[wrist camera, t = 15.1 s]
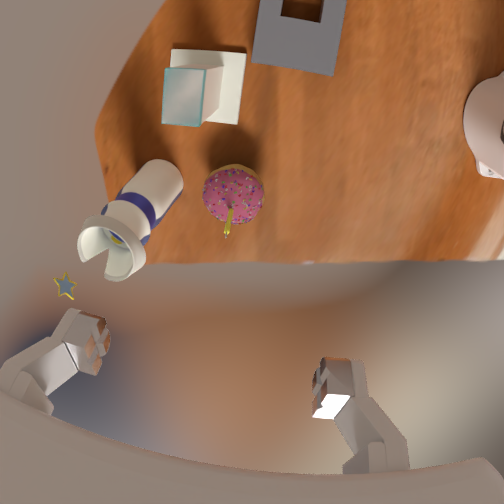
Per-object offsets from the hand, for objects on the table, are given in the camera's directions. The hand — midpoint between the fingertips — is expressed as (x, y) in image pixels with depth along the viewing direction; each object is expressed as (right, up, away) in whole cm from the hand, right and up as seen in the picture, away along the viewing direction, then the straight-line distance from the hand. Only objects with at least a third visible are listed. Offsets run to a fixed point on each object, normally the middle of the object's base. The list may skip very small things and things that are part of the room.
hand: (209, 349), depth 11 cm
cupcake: (-1, +14, +36) cm, 39 cm away
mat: (-5, +26, +28) cm, 38 cm away
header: (+8, +35, +20) cm, 41 cm away
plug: (-4, +25, +27) cm, 37 cm away
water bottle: (-13, +14, +37) cm, 42 cm away
